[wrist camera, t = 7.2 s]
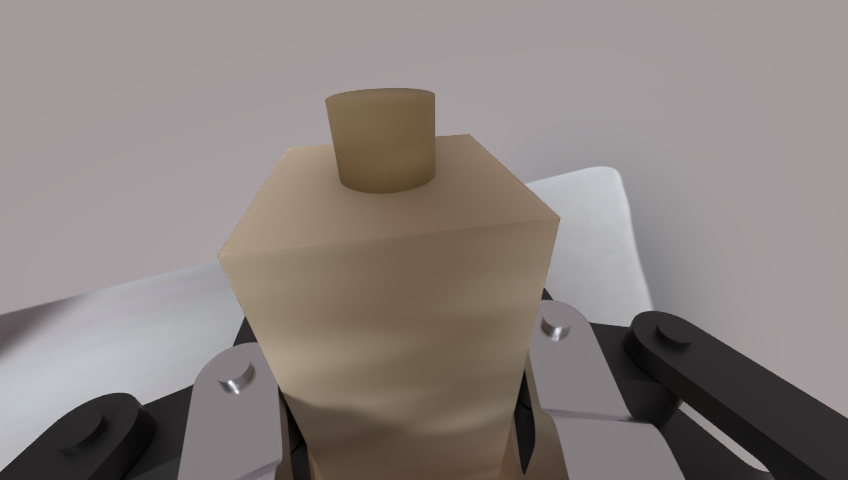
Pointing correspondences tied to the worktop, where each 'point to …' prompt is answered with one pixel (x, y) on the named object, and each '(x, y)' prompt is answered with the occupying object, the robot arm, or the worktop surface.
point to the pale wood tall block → (394, 291)
